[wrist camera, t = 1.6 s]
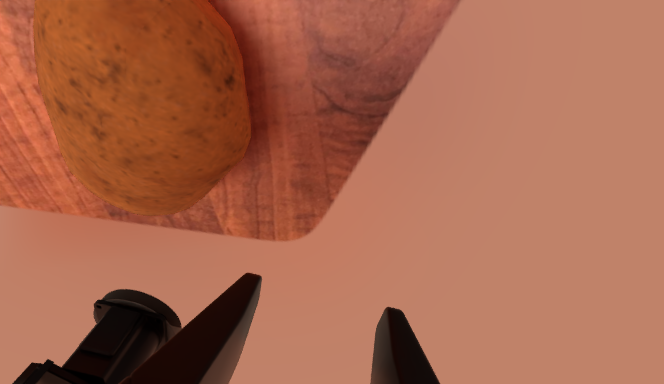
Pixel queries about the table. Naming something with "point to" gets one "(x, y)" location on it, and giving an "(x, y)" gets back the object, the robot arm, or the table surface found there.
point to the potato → (143, 97)
